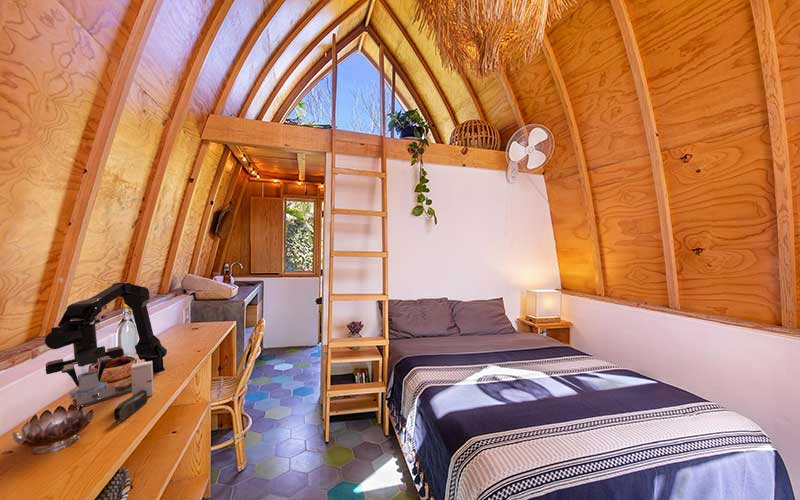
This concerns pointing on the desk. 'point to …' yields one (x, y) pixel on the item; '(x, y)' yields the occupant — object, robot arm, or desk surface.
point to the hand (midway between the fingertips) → (88, 383)
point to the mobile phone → (130, 406)
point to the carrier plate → (107, 393)
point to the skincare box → (142, 377)
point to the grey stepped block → (88, 385)
